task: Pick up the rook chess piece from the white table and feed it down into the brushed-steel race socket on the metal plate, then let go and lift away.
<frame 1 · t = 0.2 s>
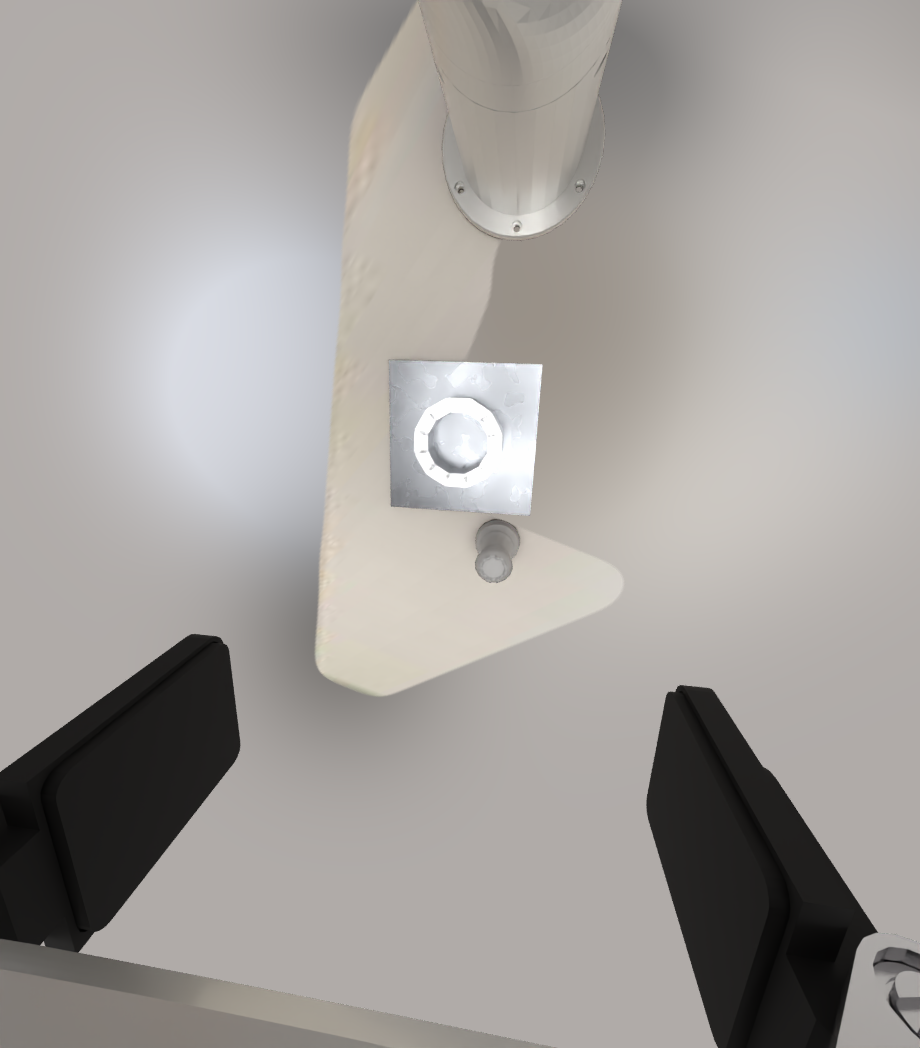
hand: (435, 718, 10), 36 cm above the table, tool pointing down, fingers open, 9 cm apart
rook chess piece: (497, 538, 46), on the table
race socket: (462, 439, 44), on the table
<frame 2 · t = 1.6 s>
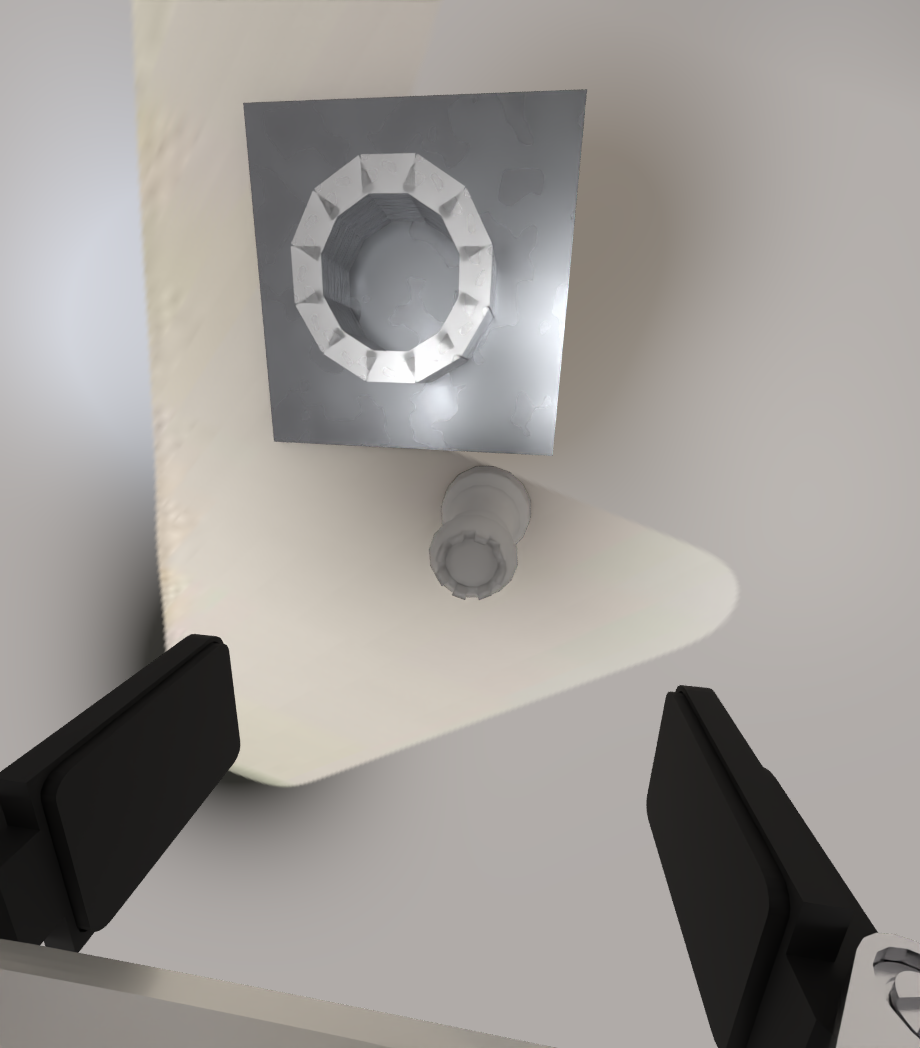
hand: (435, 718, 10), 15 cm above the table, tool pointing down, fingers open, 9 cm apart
rook chess piece: (487, 506, 23), on the table
race socket: (410, 292, 21), on the table
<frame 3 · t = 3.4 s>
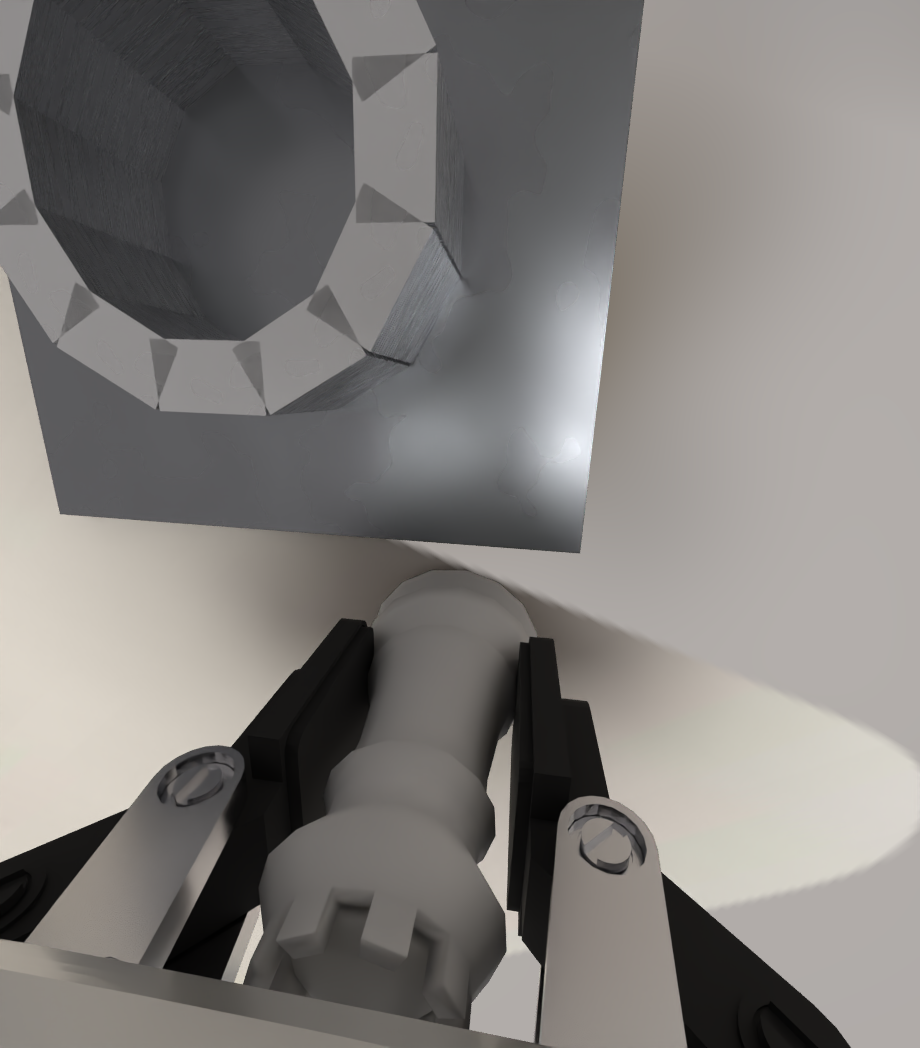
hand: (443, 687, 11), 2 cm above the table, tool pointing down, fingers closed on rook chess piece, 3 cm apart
rook chess piece: (457, 634, 13), on the table, touching gripper
race socket: (293, 228, 10), on the table
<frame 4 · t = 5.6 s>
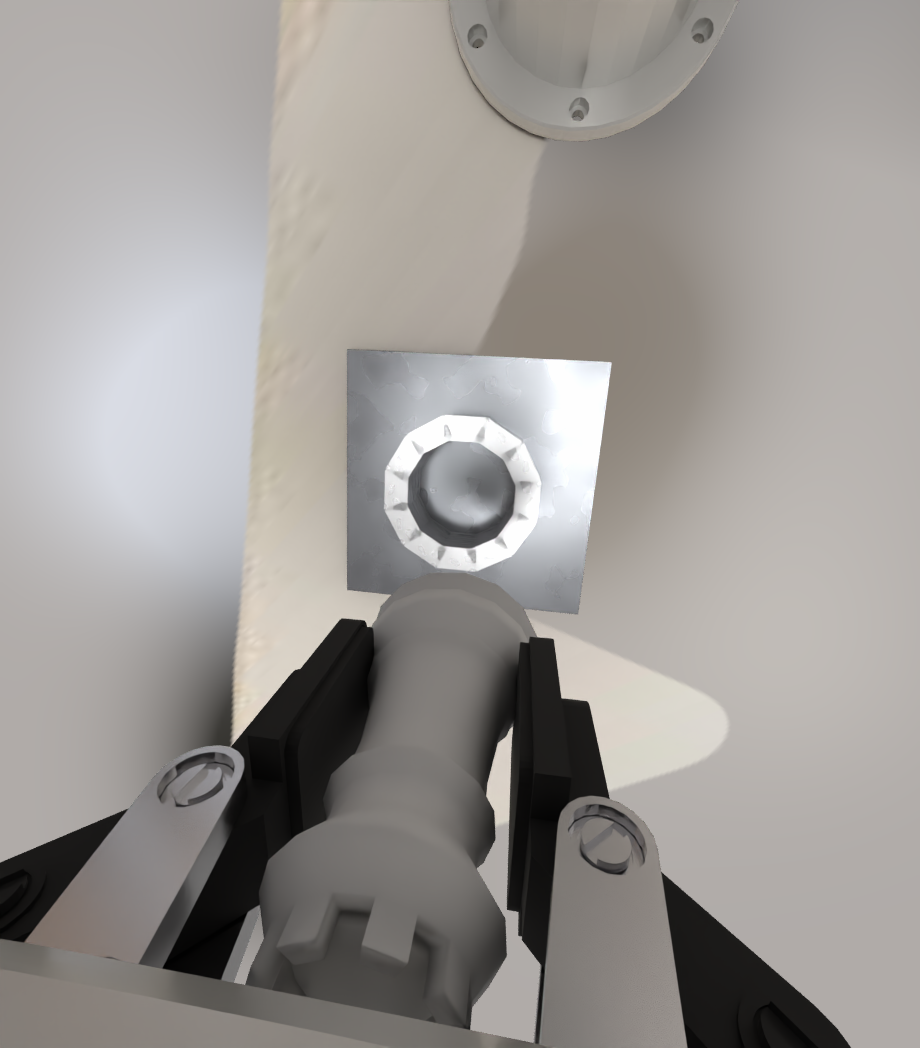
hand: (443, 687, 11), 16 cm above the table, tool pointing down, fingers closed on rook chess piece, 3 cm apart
rook chess piece: (456, 636, 13), point 14 cm above the table, touching gripper
race socket: (467, 485, 26), on the table
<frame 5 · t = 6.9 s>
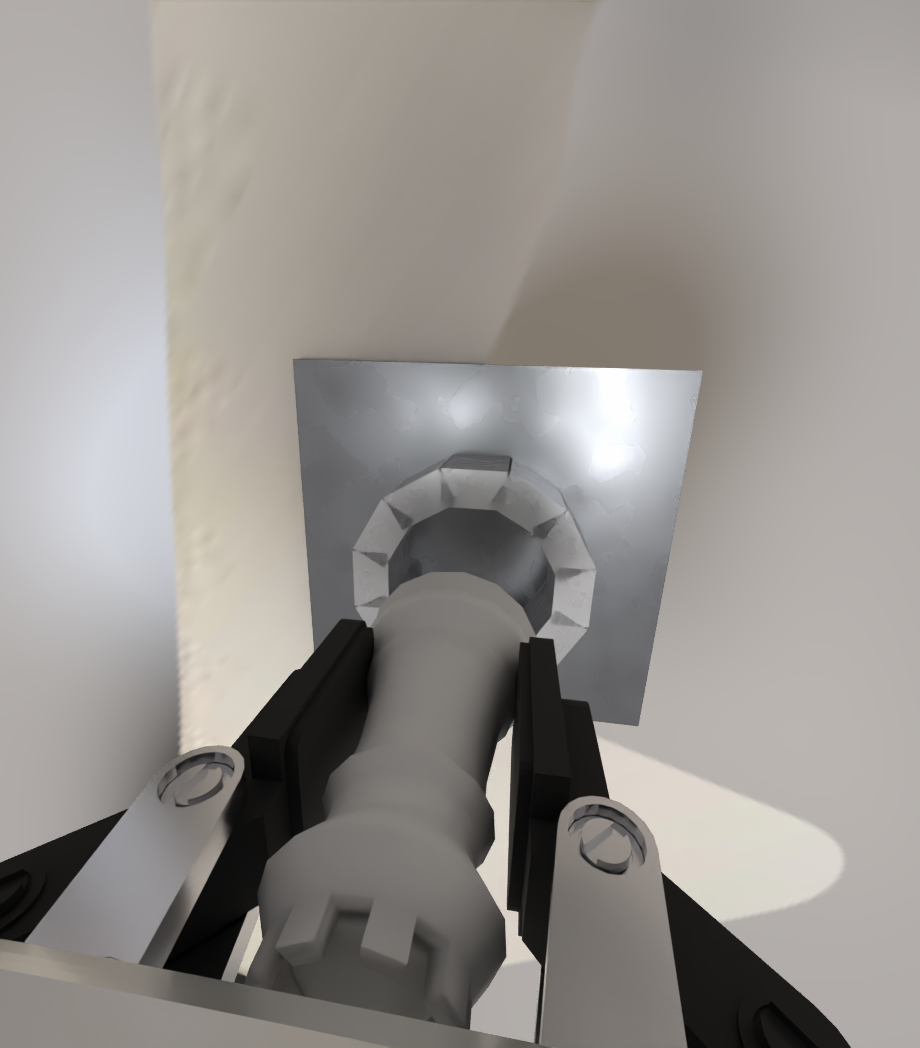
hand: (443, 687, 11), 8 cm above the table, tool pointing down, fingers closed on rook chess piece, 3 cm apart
rook chess piece: (456, 636, 13), point 6 cm above the table, touching gripper
race socket: (479, 551, 18), on the table
when the fingers open (4 cm above the table, at t = 7.9 s): rook chess piece drops 1 cm, resting on race socket.
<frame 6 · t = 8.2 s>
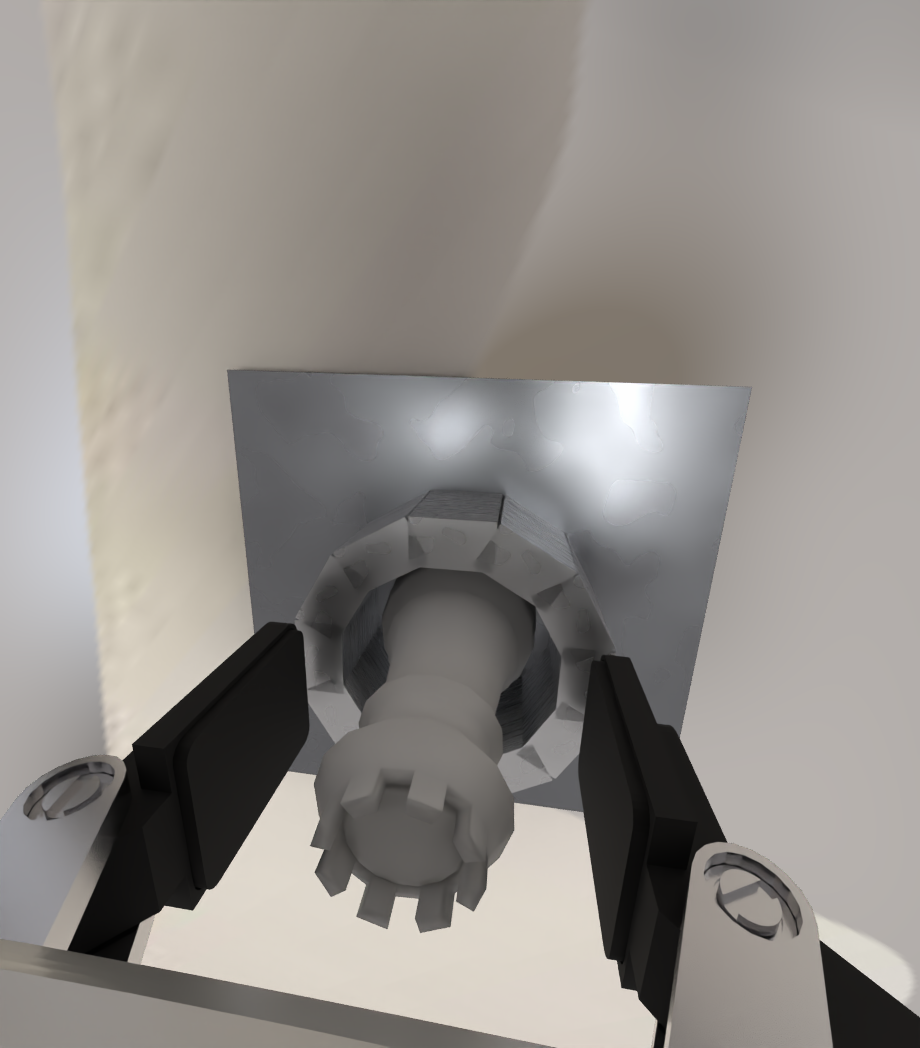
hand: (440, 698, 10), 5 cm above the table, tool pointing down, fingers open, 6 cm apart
rook chess piece: (463, 605, 14), resting on race socket
race socket: (464, 607, 15), on the table
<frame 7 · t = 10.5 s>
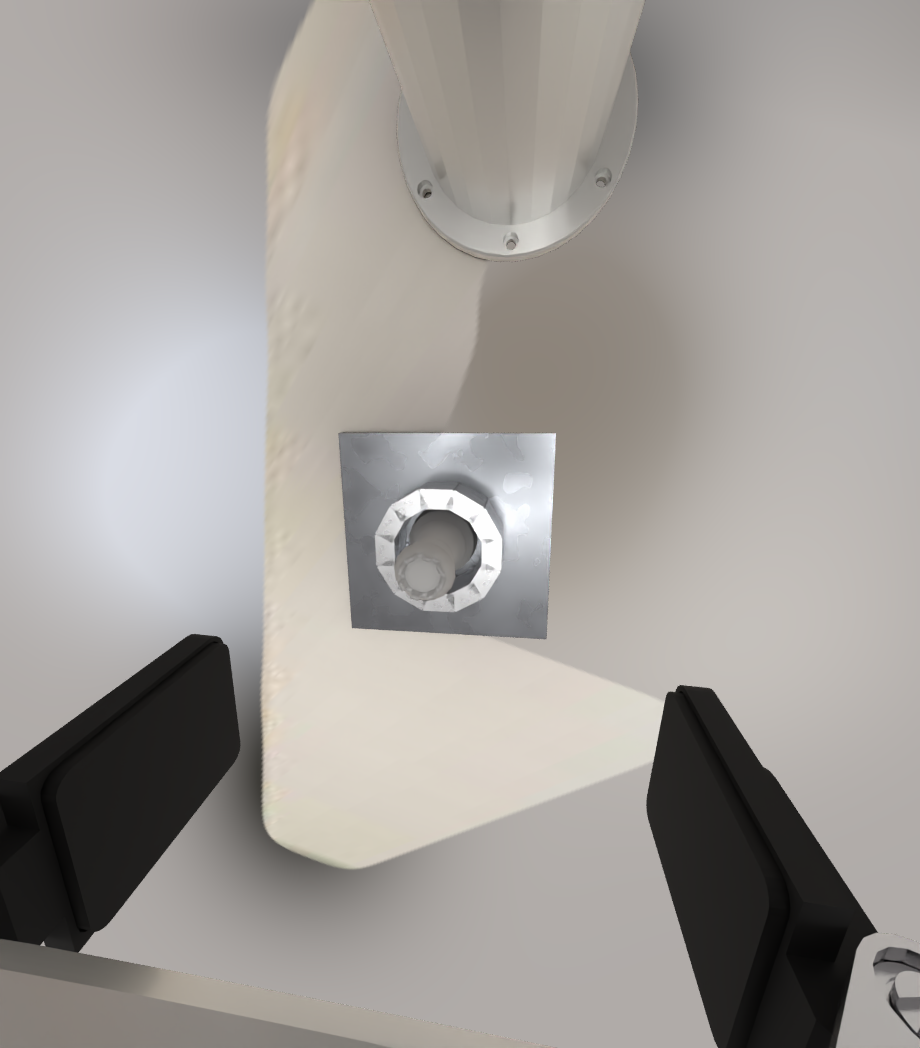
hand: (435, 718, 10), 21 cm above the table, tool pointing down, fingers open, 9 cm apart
rook chess piece: (445, 534, 31), resting on race socket
race socket: (446, 536, 31), on the table
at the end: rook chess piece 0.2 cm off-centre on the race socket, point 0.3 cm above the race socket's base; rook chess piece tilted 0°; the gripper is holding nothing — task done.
